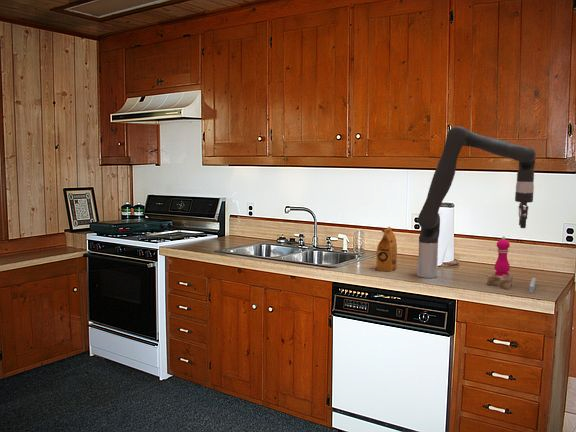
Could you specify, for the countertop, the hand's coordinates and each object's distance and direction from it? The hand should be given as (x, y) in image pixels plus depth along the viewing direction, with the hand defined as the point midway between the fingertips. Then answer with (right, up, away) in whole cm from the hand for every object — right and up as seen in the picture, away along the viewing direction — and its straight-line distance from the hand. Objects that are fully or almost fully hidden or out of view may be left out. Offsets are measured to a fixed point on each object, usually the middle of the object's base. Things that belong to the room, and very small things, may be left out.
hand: (522, 226), depth 255 cm
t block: (-9, -27, +4) cm, 29 cm away
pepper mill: (-1, -25, +22) cm, 33 cm away
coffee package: (-55, -23, +38) cm, 71 cm away
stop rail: (+3, -28, -3) cm, 28 cm away
